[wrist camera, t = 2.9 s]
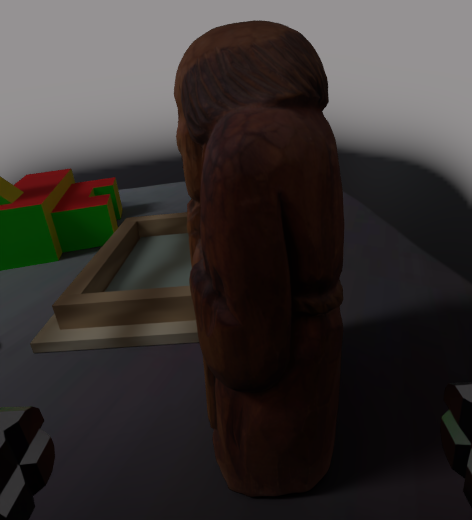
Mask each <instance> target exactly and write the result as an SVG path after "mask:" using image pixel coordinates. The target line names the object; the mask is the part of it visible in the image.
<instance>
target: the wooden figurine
mask: <svg viewBox="0 0 472 520" xmlns="http://www.w3.org/2000/svg"><path fill="white" fill-rule="evenodd" d="M174 97H175V100H176V103H177V107H178V116H179V117H178V119H179V121H178V128H177V135H176V138H177V146H178V149H179V151H180V153H181V155H182V161H183V169H184V175H185V180H186V186H187V191H188V194H189V196H190V197H191V198H192V199H191V200H190V202H189V203H188V204H187V209H188V210H187V231H188V235H189V248H190V258H191V266H192V269H191V271H190V278H189V284H190V292H191V297H192V301H193V305H194V311H195V316H196V324H197V333H198V338H199V343H200V346H201V350H202V354H203V362H204V372H205V383H206V397H207V411H208V417H209V421H210V425H211V427H212V428H213V429H214V432H213V445H214V450H215V457H216V460H217V463H218V465H219V467H220V470H221V472H222V475H223V477H224V479H225V480H226V482H227V484H228V488H229V489H230V490H232V491H235V492H238V493H242V494H244V495H246V496H249V497H256V496H280V495H285V494H289V493H303V492H307V491H309V490H311V489H312V488H313V487H314V486H315V485H316V484H317V483H318V482H319V481H320V480H321V479H322V478H323V477H324V476H325V474H326V473H327V471H328V469H329V467H330V463H331V458H332V453H333V448H334V441H335V431H336V421H337V411H338V403H339V385H340V371H341V346H342V338H343V323H342V318H341V314H340V307H339V306H340V305H341V304H342V301H343V288H342V285H341V283H340V280H339V277H340V274H341V272H342V267H343V244H344V213H343V191H342V183H341V177H340V168H339V162H338V154H337V147H336V141H335V137H334V134H333V132H332V129H331V127H330V125H329V123H328V121H327V120H326V118H325V117H324V115H323V112H322V111H323V109H324V108H325V107H326V106H327V104H328V102H329V100H328V81H327V76H326V74H325V71H324V68H323V65H322V62H321V60H320V58H319V56H318V54H317V52H316V51H315V49H314V47H313V46H312V45H311V43H310V42H309V41H308V40H307V39H306V38H305V37H304V36H303V35H302V34H301V33H299V32H298V31H296V30H294V29H291V28H289V27H287V26H284V25H282V24H279V23H274V22H269V21H248V22H239V23H233V24H227V25H224V26H220V27H216V28H214V29H211V30H210V31H208V32H206V33H205V34H203V35H202V36H200V37H199V38H197V39H196V40H195V41H194V42H193V43H192V44H191V45H190V46H189V48H188V49H187V51H186V52H185V54H184V56H183V58H182V60H181V62H180V64H179V66H178V70H177V73H176V79H175V87H174Z"/></svg>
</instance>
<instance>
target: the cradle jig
mask: <svg viewBox="0 0 472 520" xmlns="http://www.w3.org/2000/svg"><path fill="white" fill-rule="evenodd" d="M191 269H192V266H191V258H190V248H189V235H188V231H187V212H186V213H175V214H164V215H153V216H142V217H131V218H126V219H125V220H124V222H123V223H122V224H121V225H120V226H119V228H118V229H117V230H116V231H115V232H114V233H113V235H112V236H111V237H110V238H109V239H108V241H107V242H106V243H105V244H104V245H103V246H102V248H101V249H100V250H99V251H98V252H97V253H96V255H95V256H94V257H93V258H92V259H91V261H90V262H89V263H88V264H87V265H86V266H85V268H84V269H83V270H82V271H81V272H80V274H79V275H78V276H77V277H76V278H75V279H74V281H73V282H72V283H71V284H70V285H69V287H68V288H67V289H66V290H65V291H64V292H63V294H62V295H61V296H60V297H59V298H58V300H57V301H56V302H55V303H54V304H53V305H52V307H53V310H54V315H53V316H52V317H51V318H50V320H49V321H48V322H47V323H46V325H45V326H44V327H43V328H42V329H41V331H40V332H39V333H38V334H37V336H36V337H35V338H34V339H33V341H32V342H31V343H30V345H31V347H32V350H33V353H41V352H56V351H71V350H86V349H102V348H117V347H132V346H148V345H163V344H178V343H194V342H199V338H198V333H197V324H196V316H195V311H194V305H193V301H192V297H191V292H190V284H189V278H190V271H191Z"/></svg>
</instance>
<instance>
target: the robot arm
mask: <svg viewBox="0 0 472 520" xmlns="http://www.w3.org/2000/svg"><path fill="white" fill-rule="evenodd" d="M444 401H445V403H446V405H447V406H448V408H449V410H448V411H447V412H446V413H445V414H444V415H443V416H442V417H441V428H440V432H441V439H442V446H443V449H444V452H445V455H446V457H447V459H448V462H449V464H450V466H451V468H452V469H453V470H454V471H455V472H457V473H458V474H459V475H461V476H462V477H463V478H465V482H464V488H463V492H464V494H465V496H466V498H467V500H468V502H469V504H470V506H471V508H472V382H461V383H448V385H447V387H446V388H445V393H444ZM43 422H44V419H43V417H42V414H41V412H40V410H39V408H35V407H0V520H29V518H30V516H31V514H32V512H33V510H34V508H35V503H34V498H33V496H34V495H35V494H36V493H37V492H38V491H40V490H41V489H42V488H43V487H44V486H46V484H47V482H48V480H49V477H50V475H51V473H52V470H53V465H54V459H55V451H54V444H53V442H52V439H51V436H49V435H48V434H47V433H45V432H44V431H43V430H41V429H40V428H41V426H42V424H43Z"/></svg>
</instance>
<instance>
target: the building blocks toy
mask: <svg viewBox="0 0 472 520" xmlns="http://www.w3.org/2000/svg"><path fill="white" fill-rule="evenodd" d="M121 215H122V205H121V200H120V196H119V192H118V187H117V184H116V179H115V177H114V178H108V179H101V180H95V181H88V182H80V183H75V181H74V177H73V173H72V170H71V169H65V170H58V171H51V172H44V173H36V174H29V175H26V176H25V177H23V178H22V179H21V180H20V181H19V182H17V183H16V184H15V185H12V184H11V183H9V182H8V181H6V180H5V179H3V178H2V177H0V271H1V270H7V269H13V268H19V267H25V266H31V265H37V264H43V263H48V262H54V261H59V259H60V257H61V255H62V253H63V252H69V251H75V250H81V249H87V248H93V247H99V246H103V245H104V244H105V243H106V242H107V241H108V239H109V238H110V237H111V236H112V235H113V233H114V232H115V231H116V230H117V229H118V225H117V221H116V220H117V219H121Z"/></svg>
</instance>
